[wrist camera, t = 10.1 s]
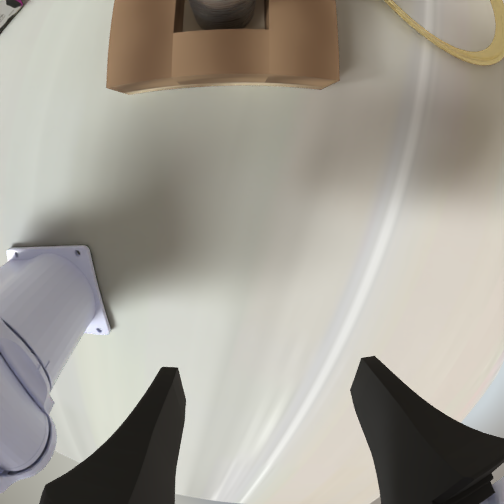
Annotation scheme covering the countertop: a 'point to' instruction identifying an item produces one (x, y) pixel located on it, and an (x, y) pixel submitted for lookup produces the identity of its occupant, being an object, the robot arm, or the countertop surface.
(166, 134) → the countertop surface
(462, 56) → the yellow rubber band
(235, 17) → the pin
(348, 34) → the countertop surface
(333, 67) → the socket block
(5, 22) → the candy bar box
